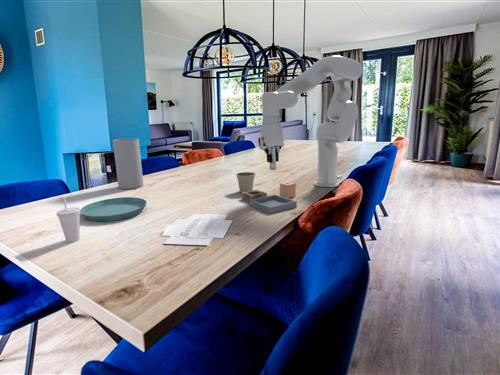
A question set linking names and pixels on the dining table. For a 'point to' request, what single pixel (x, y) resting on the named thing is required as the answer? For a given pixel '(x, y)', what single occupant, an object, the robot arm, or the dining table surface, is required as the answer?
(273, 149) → the steel pin
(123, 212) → the teal plate
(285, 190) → the orange block with knob
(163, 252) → the dining table surface
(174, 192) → the dining table surface
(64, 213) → the smoothie
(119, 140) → the cylinder vase
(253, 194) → the walnut bore block
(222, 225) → the white flat piece
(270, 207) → the grey square tray
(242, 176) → the flower pot
